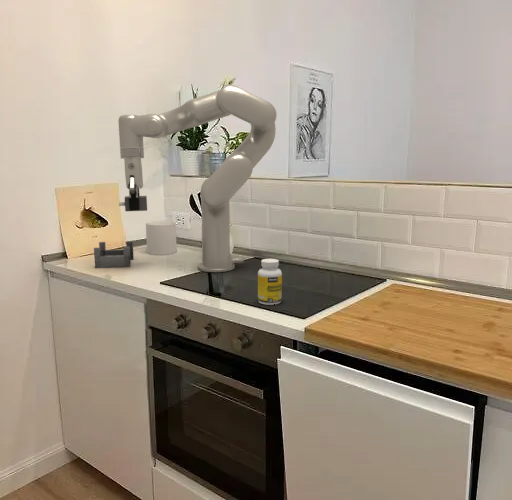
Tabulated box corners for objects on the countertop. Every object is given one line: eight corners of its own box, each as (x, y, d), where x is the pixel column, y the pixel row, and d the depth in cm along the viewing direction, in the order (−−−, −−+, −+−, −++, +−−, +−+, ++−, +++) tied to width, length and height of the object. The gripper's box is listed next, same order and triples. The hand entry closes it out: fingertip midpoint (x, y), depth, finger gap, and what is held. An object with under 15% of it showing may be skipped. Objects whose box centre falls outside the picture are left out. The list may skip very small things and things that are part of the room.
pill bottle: (261, 306, 134) (261, 263, 132) (255, 299, 140) (255, 258, 138) (284, 304, 136) (285, 262, 133) (277, 297, 142) (277, 257, 139)
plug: (147, 208, 173) (146, 195, 172) (147, 210, 168) (146, 197, 167) (120, 209, 171) (119, 196, 170) (119, 211, 166) (118, 197, 166)
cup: (152, 256, 196) (150, 225, 193) (143, 251, 206) (142, 222, 203) (180, 253, 201) (179, 223, 199) (171, 248, 211) (169, 219, 209)
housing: (133, 259, 191) (132, 241, 189) (130, 266, 179) (129, 247, 177) (100, 260, 189) (99, 241, 188) (95, 268, 177) (93, 248, 176)
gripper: (142, 154, 158) (145, 211, 162) (145, 153, 175) (148, 205, 179) (117, 154, 157) (121, 212, 161) (123, 153, 174) (126, 206, 177)
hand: (135, 208), depth 170 cm, fingers closed on plug, 5 cm apart
